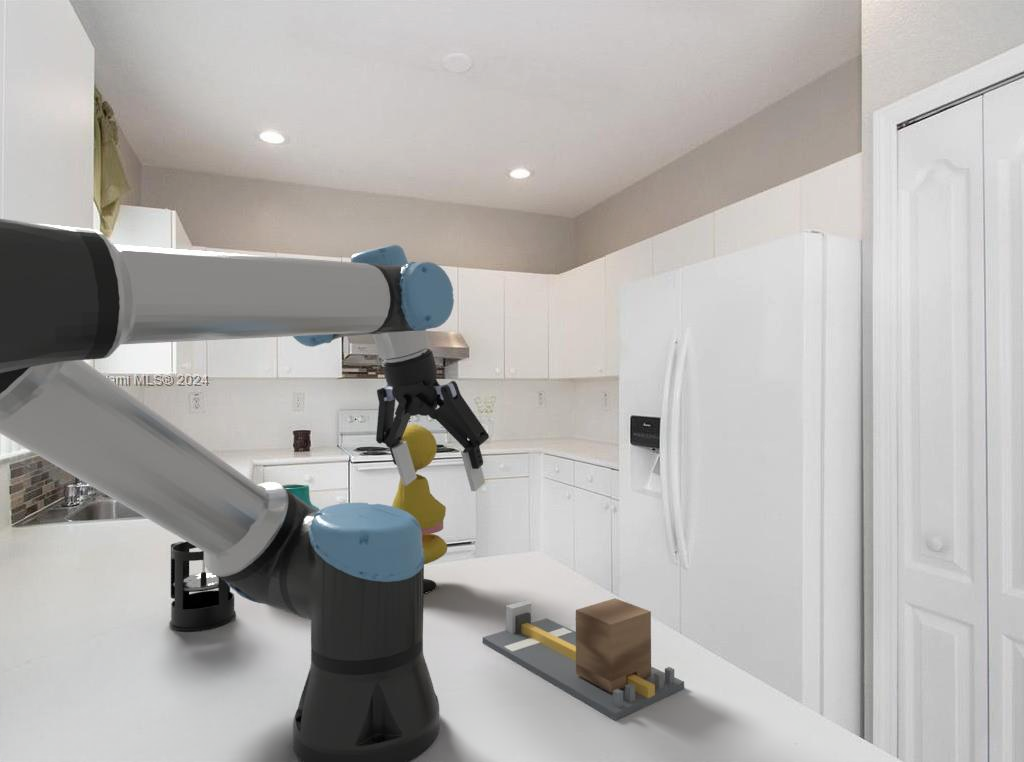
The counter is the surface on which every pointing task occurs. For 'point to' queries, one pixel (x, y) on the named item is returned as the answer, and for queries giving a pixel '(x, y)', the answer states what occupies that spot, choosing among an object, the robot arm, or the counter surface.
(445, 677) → the counter surface
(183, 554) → the french press
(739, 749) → the counter surface
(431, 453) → the toy
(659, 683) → the sliding block track
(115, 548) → the counter surface
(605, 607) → the cardboard box
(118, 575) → the counter surface
